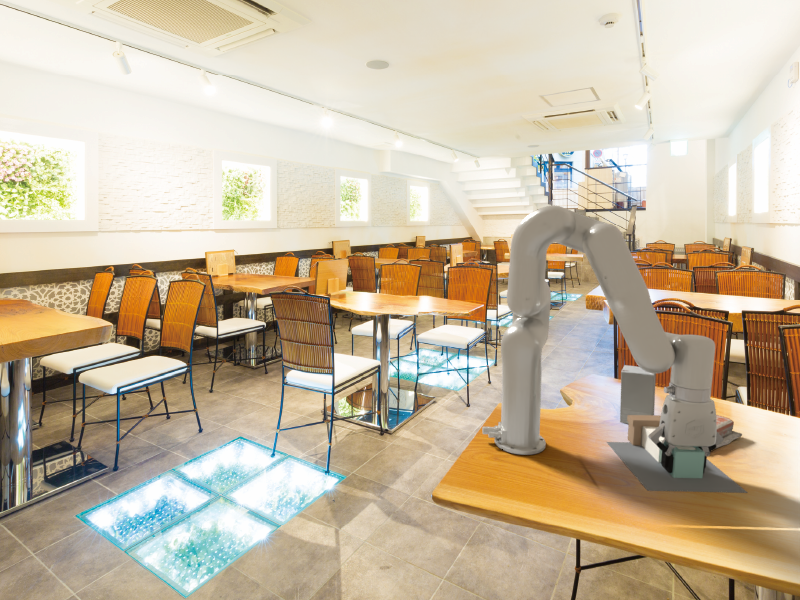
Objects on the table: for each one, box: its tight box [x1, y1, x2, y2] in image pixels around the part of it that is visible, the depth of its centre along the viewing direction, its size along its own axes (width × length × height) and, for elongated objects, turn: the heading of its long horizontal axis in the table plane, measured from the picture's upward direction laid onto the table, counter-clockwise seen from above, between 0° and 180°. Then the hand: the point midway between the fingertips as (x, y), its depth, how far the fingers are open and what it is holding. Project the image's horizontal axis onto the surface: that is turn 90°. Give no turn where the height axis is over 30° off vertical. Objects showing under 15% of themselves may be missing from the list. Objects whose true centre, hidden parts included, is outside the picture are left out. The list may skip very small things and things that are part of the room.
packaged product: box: [715, 414, 743, 449], centre depth 118 cm, size 18×5×10 cm
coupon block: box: [627, 414, 664, 462], centre depth 112 cm, size 11×12×7 cm
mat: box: [606, 441, 748, 494], centre depth 105 cm, size 20×22×1 cm
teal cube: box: [670, 446, 705, 478], centre depth 102 cm, size 6×5×6 cm
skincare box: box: [619, 364, 657, 425], centre depth 128 cm, size 8×7×16 cm
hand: (682, 469), depth 102 cm, fingers closed on teal cube, 6 cm apart
